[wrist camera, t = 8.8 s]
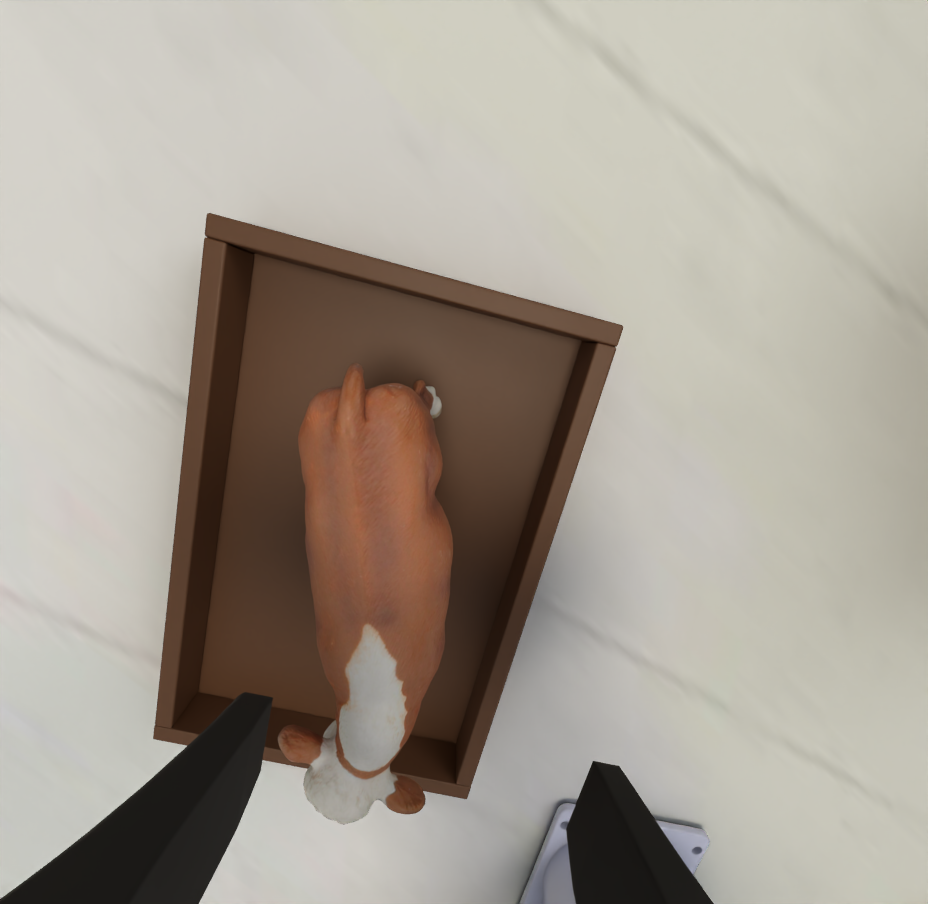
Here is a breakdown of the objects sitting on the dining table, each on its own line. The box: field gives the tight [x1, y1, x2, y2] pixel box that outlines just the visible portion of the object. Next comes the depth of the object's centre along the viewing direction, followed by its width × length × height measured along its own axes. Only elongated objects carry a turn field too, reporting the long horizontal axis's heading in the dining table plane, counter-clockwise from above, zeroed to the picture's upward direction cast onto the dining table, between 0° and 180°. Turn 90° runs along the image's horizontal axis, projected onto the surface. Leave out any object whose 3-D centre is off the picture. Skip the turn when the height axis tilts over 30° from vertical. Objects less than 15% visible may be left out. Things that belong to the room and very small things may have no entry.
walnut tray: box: [153, 213, 623, 799], centre depth 18 cm, size 20×13×2 cm, turn 166°
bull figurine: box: [278, 363, 453, 824], centre depth 14 cm, size 4×14×8 cm, turn 175°
